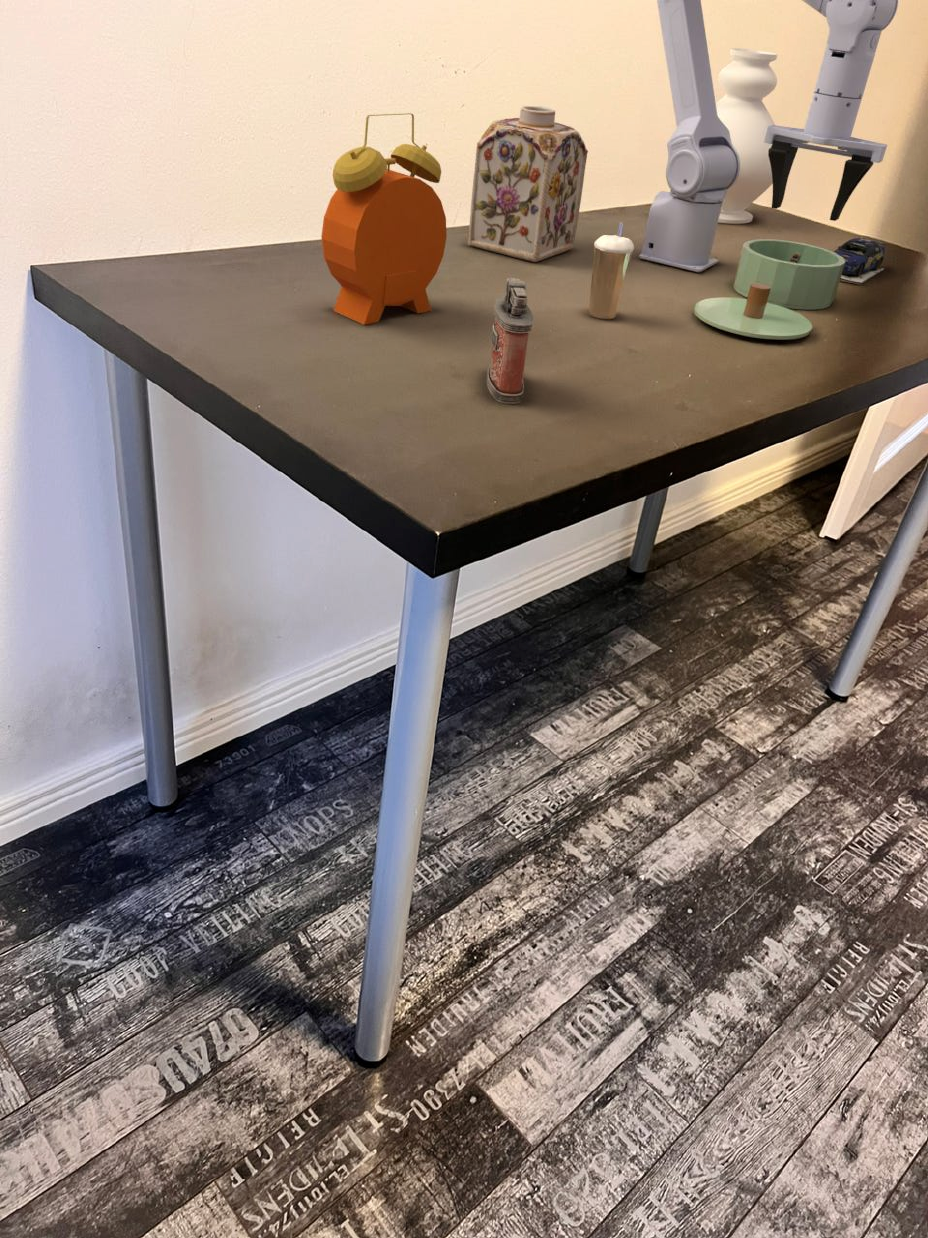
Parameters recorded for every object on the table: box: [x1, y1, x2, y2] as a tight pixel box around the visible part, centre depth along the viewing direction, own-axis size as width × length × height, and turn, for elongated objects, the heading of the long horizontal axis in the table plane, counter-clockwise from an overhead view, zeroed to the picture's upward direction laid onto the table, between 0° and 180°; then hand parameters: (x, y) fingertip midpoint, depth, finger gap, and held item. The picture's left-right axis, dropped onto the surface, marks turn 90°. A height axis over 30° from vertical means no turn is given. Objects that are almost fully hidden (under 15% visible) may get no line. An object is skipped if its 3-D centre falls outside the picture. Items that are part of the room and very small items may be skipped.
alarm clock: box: [320, 112, 448, 326], centre depth 103 cm, size 13×6×20 cm, turn 134°
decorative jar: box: [467, 105, 589, 263], centre depth 132 cm, size 12×12×18 cm
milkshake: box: [588, 222, 635, 320], centre depth 112 cm, size 4×5×10 cm
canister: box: [733, 238, 845, 311], centre depth 128 cm, size 13×13×6 cm
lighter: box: [486, 277, 534, 405], centre depth 90 cm, size 8×3×10 cm, turn 5°
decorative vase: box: [715, 47, 778, 225], centre depth 161 cm, size 18×18×25 cm
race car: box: [833, 236, 887, 286], centre depth 142 cm, size 15×7×4 cm, turn 145°
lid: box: [693, 283, 813, 341], centre depth 115 cm, size 14×14×5 cm
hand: (804, 213), depth 123 cm, fingers open, 7 cm apart
